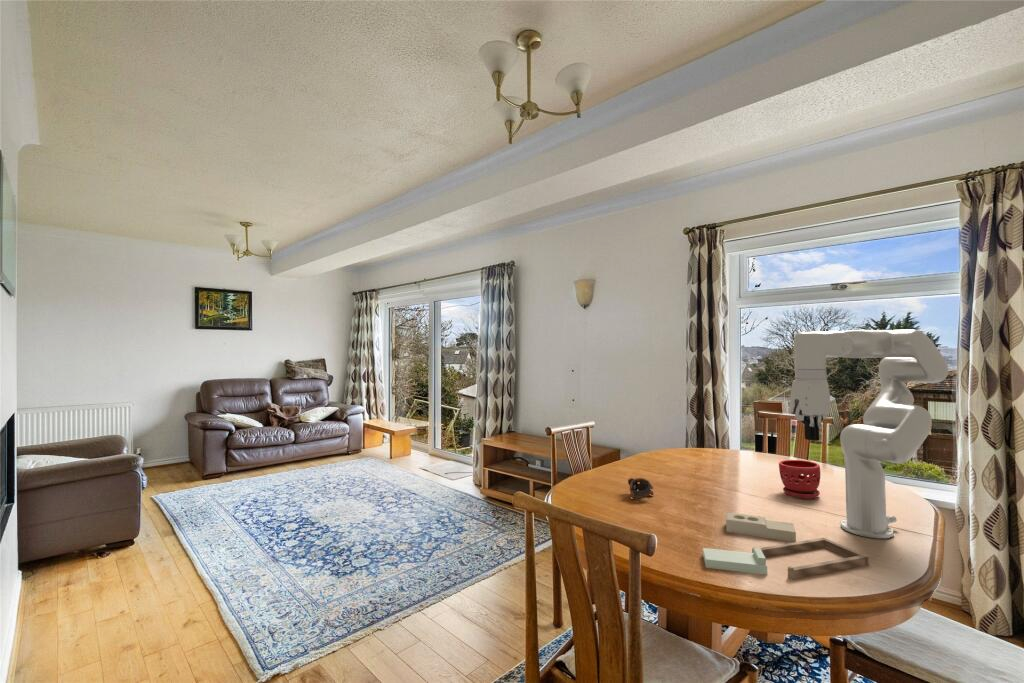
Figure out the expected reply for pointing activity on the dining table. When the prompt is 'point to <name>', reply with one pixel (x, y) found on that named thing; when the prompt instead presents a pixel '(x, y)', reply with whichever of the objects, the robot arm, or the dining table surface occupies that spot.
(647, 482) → the dark turtle figurine
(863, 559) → the brown u-shaped frame
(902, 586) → the dining table surface
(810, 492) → the plant pot
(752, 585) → the dining table surface
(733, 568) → the cover plate
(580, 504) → the dining table surface
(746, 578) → the dining table surface
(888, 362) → the robot arm
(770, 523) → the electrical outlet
